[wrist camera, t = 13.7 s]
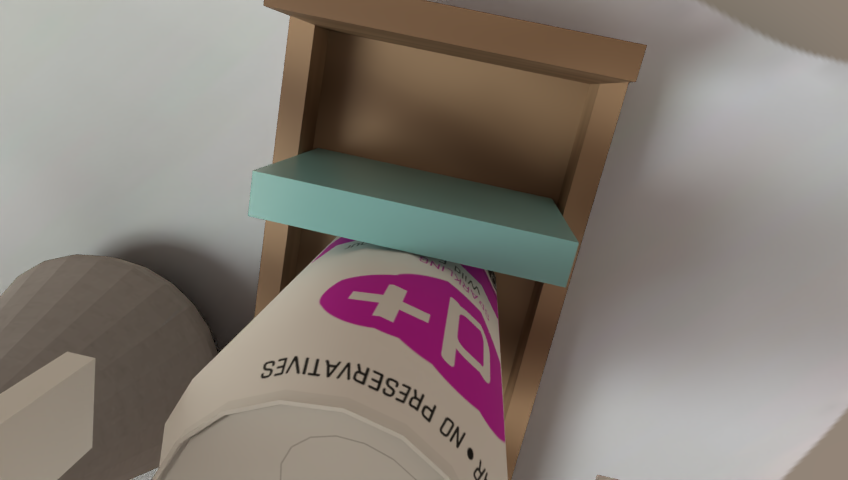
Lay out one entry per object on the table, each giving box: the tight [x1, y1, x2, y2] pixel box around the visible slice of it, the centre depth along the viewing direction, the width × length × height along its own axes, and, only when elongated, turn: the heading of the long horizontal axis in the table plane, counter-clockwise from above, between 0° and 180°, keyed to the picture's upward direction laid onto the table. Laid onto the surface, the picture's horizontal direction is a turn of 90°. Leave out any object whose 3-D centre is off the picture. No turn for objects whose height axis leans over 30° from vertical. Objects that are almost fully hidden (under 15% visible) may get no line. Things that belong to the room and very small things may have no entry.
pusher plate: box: [248, 148, 579, 288], centre depth 20 cm, size 2×10×7 cm, turn 79°
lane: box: [254, 0, 647, 480], centre depth 23 cm, size 24×13×8 cm, turn 169°
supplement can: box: [152, 236, 508, 480], centre depth 18 cm, size 8×8×15 cm
